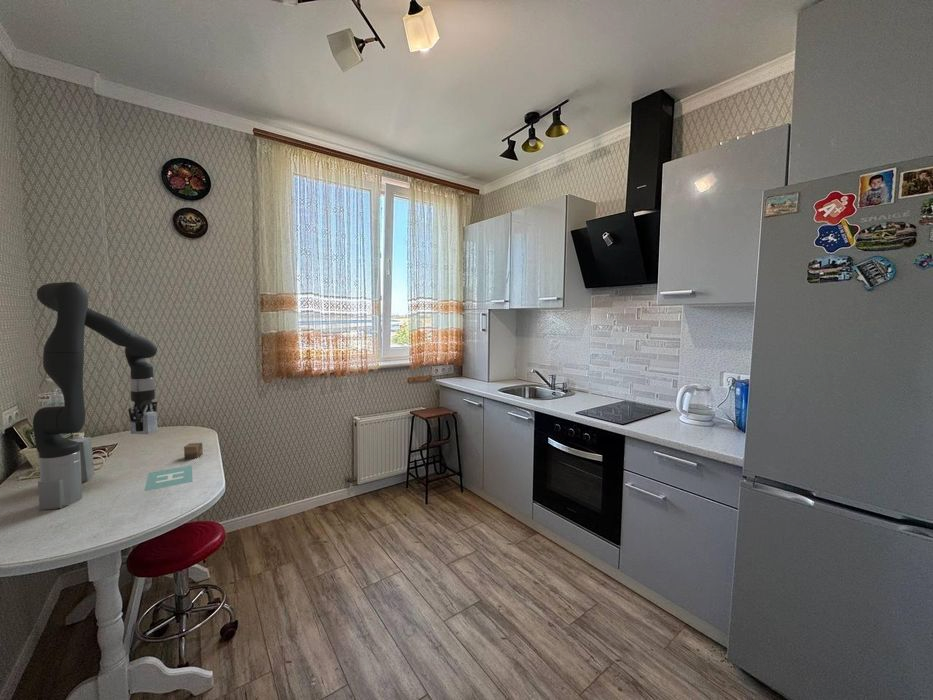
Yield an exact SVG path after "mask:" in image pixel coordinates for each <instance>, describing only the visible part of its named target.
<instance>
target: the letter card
mask: <svg viewBox="0 0 933 700" xmlns="http://www.w3.org/2000/svg"><path fill="white" fill-rule="evenodd" d="M188 483H193V465H192V464H190V465H185V466H179V467H174V468H168V469H162V470H157V471H156V470H155V471H151V472H148V476H147V480H146V483H145V488H144V492H147V491H152V490H157V489H161V488H166V487H172V486H177V485H183V484H188Z"/></svg>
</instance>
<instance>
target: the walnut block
mask: <svg viewBox="0 0 933 700" xmlns="http://www.w3.org/2000/svg"><path fill="white" fill-rule="evenodd" d="M203 452H204V451H203V442H190V443H188V444H186V445H185V446H183V457H184V460H193V459H195V458H196V459H197V458H198V457H199V458H201V457H202V456H203V454H204V453H203ZM201 455H202V456H201ZM200 456H201V457H200ZM199 458H198V459H199Z"/></svg>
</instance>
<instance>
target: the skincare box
mask: <svg viewBox="0 0 933 700" xmlns="http://www.w3.org/2000/svg"><path fill="white" fill-rule="evenodd" d="M70 440H72V441H76V442H78V443H79V445H80V461H81V478H82V483H85V481H87V482H89V480H90V479H91V478H93V476H94V475H95V466H94V465H95V464H94V456H93V449H92V448H93V446H92V437H91V436H87V437H82V438H81V437H80V438H73V439H71V438H70Z"/></svg>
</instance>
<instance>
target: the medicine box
mask: <svg viewBox="0 0 933 700" xmlns="http://www.w3.org/2000/svg"><path fill="white" fill-rule="evenodd" d="M134 418H135V417H134ZM139 419H140V417H139ZM129 421H130V422H129V423H130V434H131V435H152V434H154V433H155V434H156V433H157V432H158V431H159V430H158V413H157V411H156V412H146V414H144V416H143V421H142V422H143V431H136V424H135V422H131V420H130V419H129Z"/></svg>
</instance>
